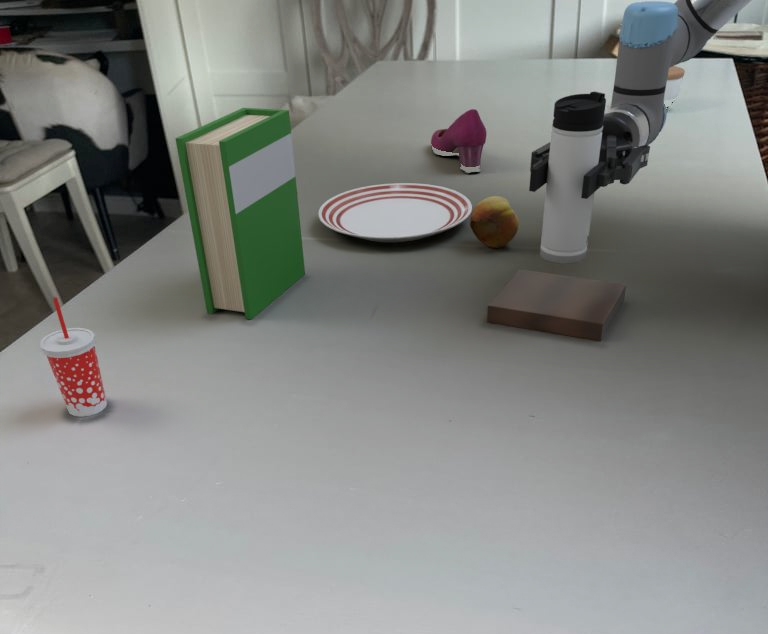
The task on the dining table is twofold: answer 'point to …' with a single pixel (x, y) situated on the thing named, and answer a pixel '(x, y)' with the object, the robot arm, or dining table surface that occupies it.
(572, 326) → the serving board
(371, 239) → the dinner plate
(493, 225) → the fruit
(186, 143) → the hardback book
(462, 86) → the dining table surface
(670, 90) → the lidded bowl
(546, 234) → the travel mug
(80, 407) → the beverage cup
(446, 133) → the high heel
